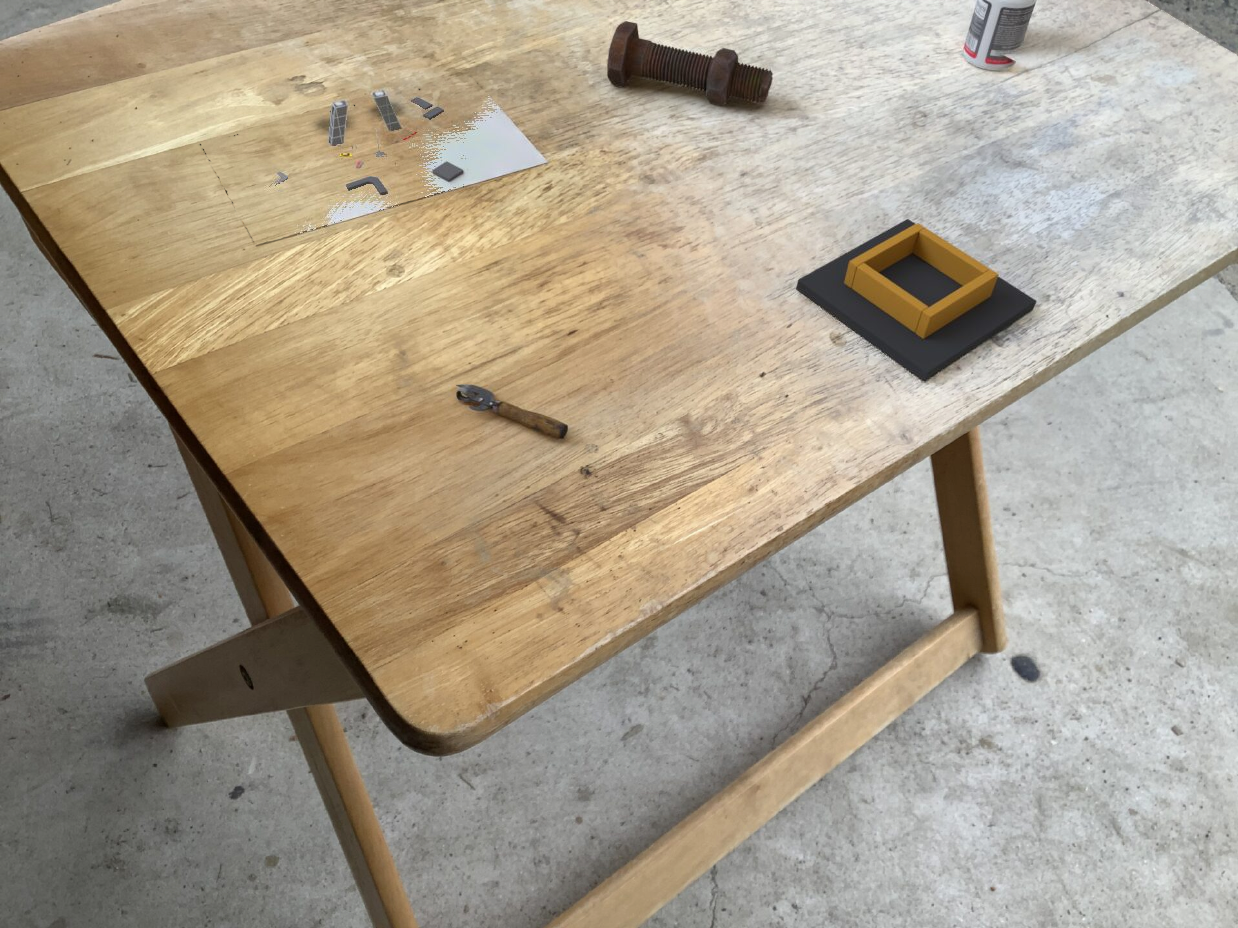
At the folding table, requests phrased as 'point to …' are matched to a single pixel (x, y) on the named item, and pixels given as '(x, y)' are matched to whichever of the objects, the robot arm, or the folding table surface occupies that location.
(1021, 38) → the pill bottle
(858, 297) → the dock
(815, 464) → the folding table surface
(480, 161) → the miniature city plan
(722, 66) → the bolt
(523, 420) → the can opener
